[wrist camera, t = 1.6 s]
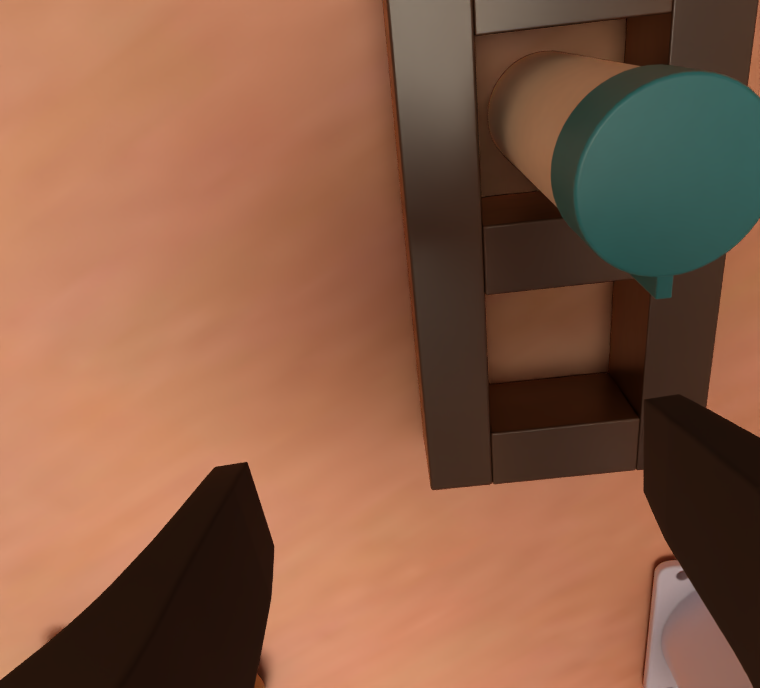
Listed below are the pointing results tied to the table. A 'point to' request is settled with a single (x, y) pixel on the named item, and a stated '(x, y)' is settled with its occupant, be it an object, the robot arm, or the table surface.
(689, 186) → the marker
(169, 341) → the table surface
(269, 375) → the table surface
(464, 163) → the block
